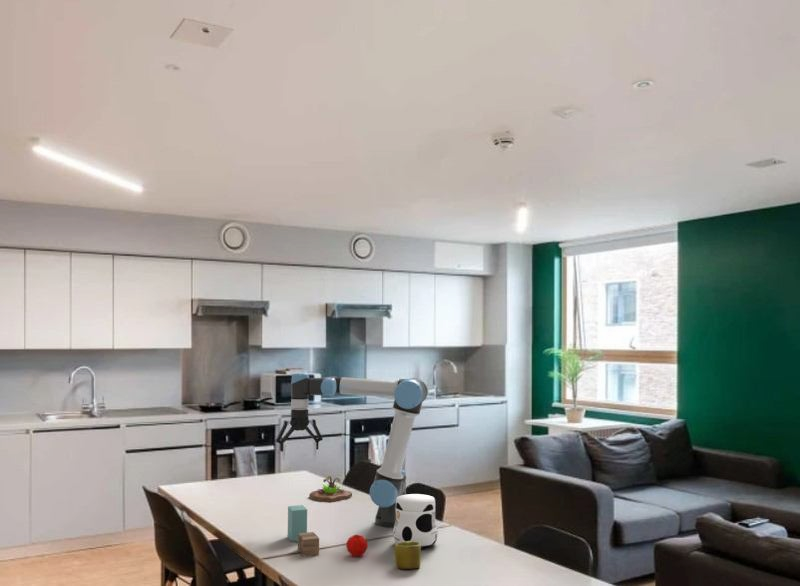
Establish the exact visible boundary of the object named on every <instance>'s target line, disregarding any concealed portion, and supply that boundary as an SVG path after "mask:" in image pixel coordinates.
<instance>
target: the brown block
mask: <svg viewBox="0 0 800 586" xmlns="http://www.w3.org/2000/svg"><path fill="white" fill-rule="evenodd" d="M297 551H298V552H299V553H300V554H301V555H302V556H303V557H309V556H316V555H317V556H318V555H320V537H319V536H318V535H317V534H316V532H314V531H309V532H308V531H307V533H298V541H297Z"/></svg>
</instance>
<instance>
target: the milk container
mask: <svg viewBox="0 0 800 586" xmlns="http://www.w3.org/2000/svg"><path fill="white" fill-rule="evenodd" d="M392 532H393V534H392V536H393V540H394V542H395V544H396V543H399V542H406V541H410V542H418V543H420V545H421V549H424V548H428V547H432V546H433V545H435V544H436V542H437V539H438V534H439V533H438V527H437V524H436V499H435V497H434V496H431V495H428V494H421V493H410V494H407V493H406V495H401V496H398V497H397V498H396V521H395V525H394V527H393V530H392Z"/></svg>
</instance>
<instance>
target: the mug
mask: <svg viewBox="0 0 800 586" xmlns="http://www.w3.org/2000/svg"><path fill="white" fill-rule="evenodd" d="M393 548H394V550H393V551H394V559H395V566H396V567H397V569H399V570H413V569H419V568H420V567H421V552H422V551H421V549H422V548H421V545H420V543H418V542H410V541H406V542H399V543H396V542H395V543H394V547H393Z"/></svg>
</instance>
